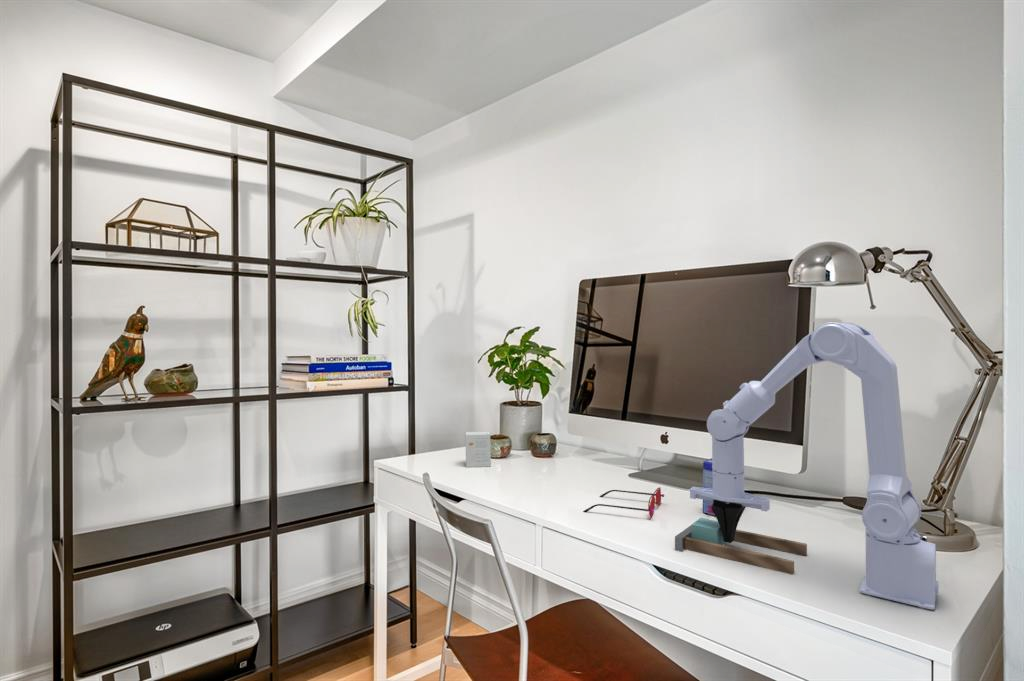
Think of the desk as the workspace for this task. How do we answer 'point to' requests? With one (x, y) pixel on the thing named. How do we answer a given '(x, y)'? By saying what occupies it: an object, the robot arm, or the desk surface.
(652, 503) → the glasses
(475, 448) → the small box
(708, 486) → the ink cartridge box
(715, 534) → the block
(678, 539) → the end stop
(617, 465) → the desk surface
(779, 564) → the guide track
